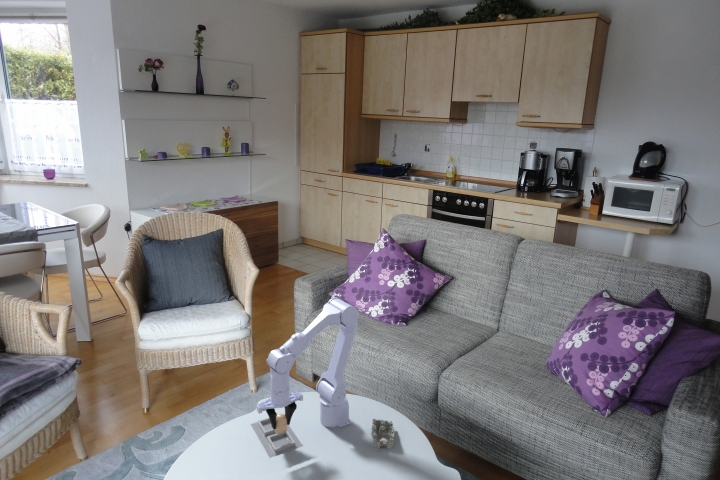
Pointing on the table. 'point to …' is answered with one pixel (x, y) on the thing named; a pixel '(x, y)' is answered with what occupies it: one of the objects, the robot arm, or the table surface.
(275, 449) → the egg stand
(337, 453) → the table surface
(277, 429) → the egg
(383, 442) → the grey stone ruin model
